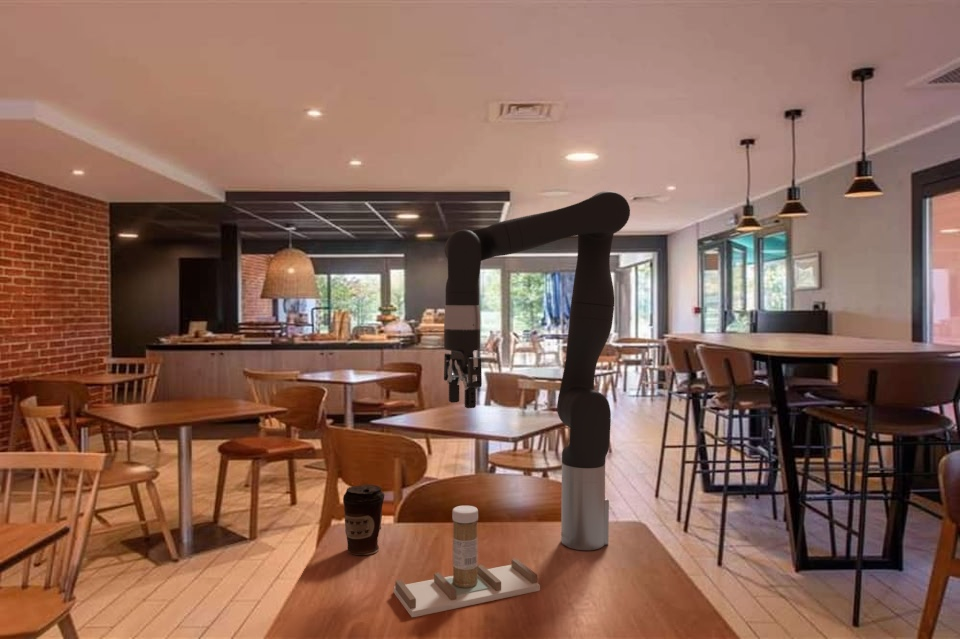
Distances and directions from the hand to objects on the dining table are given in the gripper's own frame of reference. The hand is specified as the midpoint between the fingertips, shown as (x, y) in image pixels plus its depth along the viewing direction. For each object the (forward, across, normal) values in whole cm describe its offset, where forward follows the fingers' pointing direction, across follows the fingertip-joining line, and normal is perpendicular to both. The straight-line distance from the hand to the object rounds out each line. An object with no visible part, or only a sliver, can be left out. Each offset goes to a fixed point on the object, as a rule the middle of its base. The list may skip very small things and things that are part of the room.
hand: (461, 404), depth 132 cm
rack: (+30, -19, +7) cm, 36 cm away
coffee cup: (+30, +7, +19) cm, 36 cm away
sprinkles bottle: (+29, -18, +7) cm, 35 cm away
